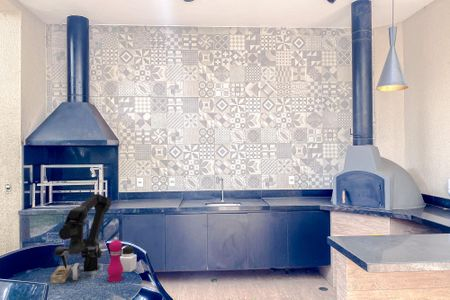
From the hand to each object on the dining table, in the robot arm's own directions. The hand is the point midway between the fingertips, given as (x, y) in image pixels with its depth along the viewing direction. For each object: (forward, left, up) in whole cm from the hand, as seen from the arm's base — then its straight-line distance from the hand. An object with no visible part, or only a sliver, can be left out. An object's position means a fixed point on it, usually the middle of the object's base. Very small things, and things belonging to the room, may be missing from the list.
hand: (76, 267), depth 166 cm
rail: (+7, -2, -5) cm, 9 cm away
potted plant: (-24, -7, -5) cm, 25 cm away
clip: (0, 0, -5) cm, 5 cm away
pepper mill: (-18, +8, -5) cm, 21 cm away
